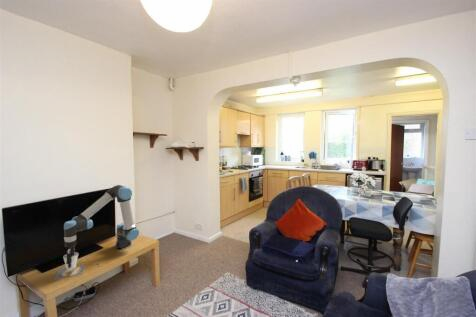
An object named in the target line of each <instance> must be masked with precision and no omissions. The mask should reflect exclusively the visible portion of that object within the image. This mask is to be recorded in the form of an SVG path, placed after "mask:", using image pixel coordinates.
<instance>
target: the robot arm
mask: <svg viewBox="0 0 476 317" xmlns="http://www.w3.org/2000/svg"><path fill="white" fill-rule="evenodd" d="M132 196H133V190H132V189H131V188H130V187H129V186H125V185H120V184H116V185H114V186H112V187H111V188H109V189H108V190H107V191H105V193H104V194H103V195H102V196H101V197H100V198H98V199H97V200H96V201H95V202H93V203H92V204H91V205H90V206H88V207H87V208H86V209H85V210H83V212H81V213H80V214H79V215H78V216H74V217H72V219H71V220H68V221H65V222H64V224H63V231H64V233H63V234H64V237H63V239H64V248H67V250H66V254H67V263H66V264H68V271H72V262H71V261H72V259H71V257H72V256H73V255H74V252H76V248H75V247H76V246H77V232H83V231H84V230H85V231H86V230H90V229H91V228H93V226H94V222H93V220H92V219H90V218H91V217H93V216H94V215H95V214H96V213H97V212H99V211H100V210H101V209H102V208H103V207H105V205H107V204H108V203H110V202H111V201H113V200H114V199H116V201H117V203H119V206H120V207H119V208H120V212H121V217H122V223H119V224H117V225H116V240H115V243H114V248H115V247H116V248H125V249H127V248H126V247H128V246H130V245H131V244H133V243H132V242H133V241H135V240H136V239H138V236H139V235H140V230H139V229H138V228H137V225H136V223H135V222H134V217H133V212H132V206H131V200H132ZM131 246H132V245H131ZM131 246H130V247H131ZM116 248H115V249H116ZM128 248H129V247H128Z"/></svg>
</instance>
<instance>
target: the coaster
mask: <svg viewBox="0 0 476 317" xmlns="http://www.w3.org/2000/svg"><path fill="white" fill-rule="evenodd" d="M79 272H81V268H80V267H76V268H75V269H73V270H72V271H68V270H65V271H63V272H62V274H61V275H62V276H63V277H67V278H70V276H72V277H75V276H74V275H76V274H78V273H79Z"/></svg>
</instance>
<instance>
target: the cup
mask: <svg viewBox="0 0 476 317" xmlns="http://www.w3.org/2000/svg"><path fill="white" fill-rule="evenodd" d="M78 257H79V252H76V251H75V252H74V255H73V256H72V257H71V259H72V261H71V262H72V270H73V269H75V268H76V266H77V263H78ZM62 258H63V261H64V264H65V265H64V266H65V268H66V269H67V270H68V264H66V263H67V253H66V254H64V255H63V257H62Z"/></svg>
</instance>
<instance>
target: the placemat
mask: <svg viewBox="0 0 476 317" xmlns="http://www.w3.org/2000/svg"><path fill="white" fill-rule="evenodd" d="M76 267H80V268H81V272H79V273H78V274H76V275H74V276H70V277H71V278H72V277H76V276H81V275H83V272H84V269H85V267H86V264H81V265H76ZM65 270H67V269H66V267H63V268H59V269H58V271H57V273H56V275H55V276H54V278H53V281H56V280H61V279H65V278H68V277H63V276H62V275H61V274H62V272H63V271H65ZM70 277H69V278H70Z"/></svg>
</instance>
